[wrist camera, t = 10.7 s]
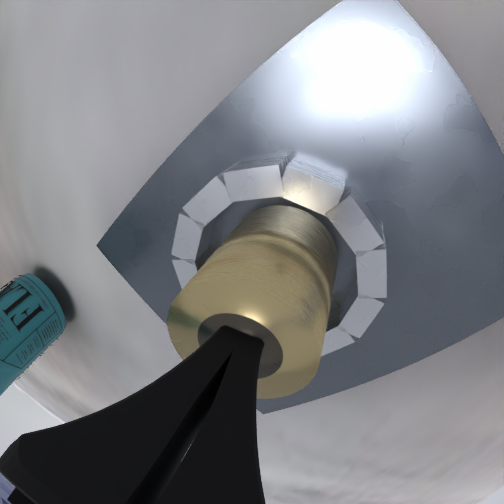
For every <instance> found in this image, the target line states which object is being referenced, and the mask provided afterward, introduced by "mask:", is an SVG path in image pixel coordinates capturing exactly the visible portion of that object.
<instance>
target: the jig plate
mask: <svg viewBox="0 0 504 504" xmlns="http://www.w3.org/2000/svg"><path fill="white" fill-rule="evenodd" d="M276 205H281V206H289V207H294V208H297V209H300V210H303V211H305V212H307V213H309V214H310V215H312V216H313V217H315V218H316V219H317V220H319V221H320V222H321V223H322V224H323V225H324V226H325V228H326V229H327V230H328V232H329V233H330V234H331V236H332V238H333V240H334V243H335V246H336V249H337V255H338V263H337V271H336V277H335V283H334V289H333V295H332V301H331V307H330V312H329V318H328V323H327V328H326V333H325V338H324V343H323V348H322V353H321V358H320V362H319V367H318V370H317V372H316V374H315V376H314V378H313V379H312V380H311V381H310V383H309V384H308V385H307V386H305V387H304V388H303V389H301V390H299V391H298V392H296V393H293V394H291V395H288V396H284V397H280V398H273V399H259V398H257V401H256V409H258V410H259V411H260V412H261V413H262V414H266V413H270V412H274V411H277V410H281V409H285V408H289V407H292V406H296V405H299V404H303V403H306V402H309V401H313V400H316V399H319V398H322V397H325V396H328V395H332V394H335V393H338V392H340V391H343V390H346V389H349V388H352V387H355V386H358V385H360V384H363V383H366V382H368V381H371V380H374V379H376V378H379V377H381V376H384V375H386V374H389V373H391V372H394V371H396V370H399V369H401V368H403V367H406V366H408V365H410V364H413V363H415V362H417V361H419V360H422V359H424V358H426V357H428V356H430V355H432V354H435V353H437V352H439V351H441V350H443V349H445V348H447V347H449V346H451V345H453V344H455V343H457V342H459V341H461V340H463V339H465V338H467V337H469V336H470V335H472V334H474V333H476V332H478V331H480V330H481V329H483V328H485V327H487V326H489V325H490V324H492V323H494V322H496V321H497V320H499V319H501V318H502V317H504V155H503V153H502V151H501V149H500V147H499V145H498V143H497V141H496V139H495V137H494V135H493V134H492V132H491V130H490V128H489V126H488V124H487V123H486V121H485V119H484V117H483V115H482V114H481V112H480V110H479V109H478V107H477V105H476V104H475V102H474V100H473V99H472V97H471V96H470V94H469V92H468V91H467V89H466V88H465V86H464V85H463V83H462V82H461V80H460V79H459V77H458V76H457V74H456V73H455V71H454V70H453V69H452V67H451V66H450V64H449V63H448V62H447V60H446V59H445V58H444V56H443V55H442V54H441V52H440V51H439V50H438V48H437V47H436V46H435V44H434V43H433V42H432V41H431V39H430V38H429V37H428V36H427V34H426V33H425V32H424V31H423V30H422V28H421V27H420V26H419V25H418V24H417V23H416V21H415V20H414V19H413V18H412V17H411V16H410V15H409V14H408V12H407V11H406V10H405V9H404V8H403V7H402V6H401V5H400V4H399V3H398V2H397V1H396V0H343V1H342V2H340V3H339V4H338V5H336V6H335V7H333V8H332V9H331V10H329V11H328V12H327V13H325V14H324V15H322V16H321V17H320V18H318V19H317V20H316V21H315V22H313V23H312V24H311V25H309V26H308V27H307V28H306V29H304V30H303V31H302V32H300V33H299V34H298V35H297V36H295V37H294V38H293V39H292V40H291V41H289V42H288V43H287V44H286V45H284V46H283V47H282V48H281V49H280V50H278V51H277V52H276V53H275V54H274V55H273V56H271V57H270V58H269V59H268V60H267V61H266V62H264V63H263V64H262V65H261V66H260V67H259V68H258V69H257V70H255V71H254V72H253V73H252V74H251V75H250V76H249V77H248V78H247V79H245V80H244V81H243V82H242V83H241V84H240V85H239V86H238V87H237V88H236V89H235V90H234V91H233V92H232V93H230V94H229V95H228V96H227V97H226V98H225V99H224V100H223V101H222V102H221V103H220V104H219V105H218V106H217V107H216V108H215V109H214V110H213V111H212V112H211V113H210V114H209V115H208V116H207V117H206V118H205V119H204V120H203V121H202V122H201V123H200V124H199V125H198V126H197V127H196V128H195V129H194V130H193V131H192V132H191V133H190V135H189V136H188V137H187V138H186V139H185V140H184V141H183V142H182V143H181V144H180V145H179V146H178V147H177V148H176V150H175V151H174V152H173V153H172V154H171V155H170V156H169V157H168V158H167V159H166V161H165V162H164V163H163V164H162V165H161V166H160V167H159V168H158V170H157V171H156V172H155V173H154V174H153V175H152V177H151V178H150V179H149V180H148V181H147V182H146V184H145V185H144V186H143V187H142V188H141V190H140V191H139V192H138V193H137V194H136V196H135V197H134V198H133V199H132V200H131V202H130V203H129V204H128V205H127V207H126V208H125V209H124V210H123V212H122V213H121V214H120V215H119V217H118V218H117V219H116V220H115V222H114V223H113V224H112V226H111V227H110V228H109V230H108V231H107V232H106V233H105V235H104V236H103V237H102V239H101V240H100V241H99V243H98V244H97V247H98V248H99V249H100V251H101V252H102V253H103V254H104V255H105V257H106V258H107V259H108V260H109V261H110V263H111V264H112V265H113V266H114V267H115V268H116V270H117V271H118V272H119V273H120V274H121V275H122V276H123V278H124V279H125V280H126V281H127V282H128V283H129V284H130V285H131V287H132V288H133V289H134V290H135V291H136V292H137V293H138V294H139V295H140V297H141V298H142V299H143V300H144V301H145V302H146V303H147V304H148V305H149V306H150V307H151V308H152V309H153V311H154V312H155V313H156V314H157V315H158V316H159V317H160V318H161V319H162V320H163V321H164V322H165V323H166V324H167V319H168V312H169V308H170V306H171V304H172V302H173V300H174V299H175V298H176V296H177V295H178V294H179V293H180V292H181V290H182V289H183V288H184V287H185V286H186V284H187V283H188V282H189V281H190V280H191V279H192V277H193V276H194V275H195V274H196V273H197V271H198V270H199V269H200V268H201V267H202V266H203V264H204V263H205V262H206V261H207V260H208V259H209V257H210V256H211V255H212V254H213V253H214V252H215V251H216V249H217V248H218V247H219V246H220V245H221V244H222V242H223V241H224V240H225V239H226V238H227V237H228V235H229V234H230V233H231V232H232V231H233V230H234V229H235V227H236V226H237V225H238V224H239V223H240V222H241V221H242V220H243V219H244V218H245V217H246V216H247V215H249V214H250V213H251V212H253V211H255V210H257V209H260V208H263V207H267V206H276ZM167 325H168V324H167Z"/></svg>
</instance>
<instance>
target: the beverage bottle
mask: <svg viewBox="0 0 504 504" xmlns="http://www.w3.org/2000/svg"><path fill="white" fill-rule="evenodd" d="M19 276H20V277H18V278H17V279H16V280H15V278H14V281H12V280H11V281H10V282H11V283H10V284H9V285H8V284H6V285H5V286H7V285H8V286H7V287H5V286H3V287H5V288H4V289H3V290H2V291H0V395H1V394H2V393H3V392H4V391H5V390H6V389H7V388H8V387H9V386H10V385H11V383H12V382H13V381H14V380H16V378H17V377H18V376H20V375H21V374H22V373H23V372H24V371H25V370H26V369H27V368H28V367H29V366H30V365H31V364H32V362H33V361H35V359H36V358H37V357H38V356H42V355H40V354H43V353H42V352H43V351H44V350H46V348H48V346H51V345H50V344H51V343H53V342H54V341H55V340H56V339H57V338H58V337H59V336H60V335H61V334H62V332H63V330H64V328H65V325H66V322H65V316H64V313H63V311H62V308H61V306H60V304H59V303H58V301H57V299H56V297H55V296H54V294H53V293H52V292H51V290H50V289H49V288H48V287H47V286H46V285H45V283H43V282H42V281H41V280H40V279H39V278H38V277H36V276H34V275H32V274H25V275H19ZM3 287H2V288H3ZM2 288H1V289H2ZM19 378H20V377H19Z"/></svg>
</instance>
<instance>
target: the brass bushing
mask: <svg viewBox="0 0 504 504" xmlns="http://www.w3.org/2000/svg"><path fill="white" fill-rule="evenodd" d="M337 263H338V255H337V249H336V246H335V243H334V240H333V238H332V236H331V234H330V233H329V232H328V230H327V229H326V228H325V226H324V225H323V224H322V223H321V222H320V221H319V220H317V219H316V218H315V217H313V216H312V215H310V214H309V213H307V212H305V211H303V210H300V209H297V208H294V207H289V206H281V205H276V206H267V207H263V208H260V209H257V210H255V211H253V212H251V213H250V214H249V215H247V216H246V217H245V218H244V219H243V220H242V221H241V222H240V223H239V224H238V225H237V226H236V227H235V229H234V230H233V231H232V232H231V233H230V234H229V235H228V237H227V238H226V239H225V240H224V241H223V242H222V244H221V245H220V246H219V247H218V248H217V249H216V251H215V252H214V253H213V254H212V255H211V256H210V257H209V259H208V260H207V261H206V262H205V263H204V264H203V266H202V267H201V268H200V269H199V270H198V271H197V273H196V274H195V275H194V276H193V277H192V279H191V280H190V281H189V282H188V283H187V284H186V286H185V287H184V288H183V289H182V290H181V292H180V293H179V294H178V295H177V296H176V298H175V299H174V300H173V302H172V304H171V306H170V308H169V312H168V319H167V324H168V331H169V335H170V338H171V341H172V343H173V345H174V347H175V349H176V351H177V352H178V354H179V355H180V356H181V358H182V359H183V360H185V359H186V358H187V357H188V356H190V355H191V354H192V353H193V352H195V351H196V350H197V349H198V348H199V347H200V346H201V345H203V344H204V343H205V342H206V341H207V340H208V339H209V338H210V337H211V336H212V335H213V334H214V333H215V332H216V331H217V330H218V329H219V328H220V327H221V326H224V325H226V326H228V327H231V328H233V329H236V330H238V331H241V332H243V333H246V334H248V335H251V336H254V337H256V338H259V339H262V340H263V342H264V343H265V344H264V347H263V351H262V354H261V359H260V365H259V373H258V382H257V398H259V399H273V398H280V397H284V396H288V395H291V394H293V393H296V392H298V391H299V390H301V389H303V388H304V387H305V386H307V385H308V384H309V383H310V381H311V380H312V379H313V378H314V376H315V374H316V372H317V370H318V367H319V362H320V358H321V353H322V348H323V343H324V338H325V333H326V328H327V323H328V318H329V312H330V307H331V301H332V295H333V289H334V283H335V277H336V271H337Z"/></svg>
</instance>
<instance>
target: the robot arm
mask: <svg viewBox="0 0 504 504" xmlns="http://www.w3.org/2000/svg"><path fill="white" fill-rule="evenodd" d="M264 344H265V343H264V342H263V340H262V339H259V338H256V337H254V336H251V335H248V334H246V333H243V332H241V331H238V330H236V329H233V328H231V327H228V326H226V325H224V326H221V327H220V328H219V329H218V330H217V331H216V332H215V333H214V334H213V335H212V336H211V337H210V338H209V339H208V340H207V341H206V342H205V343H204V344H203V345H201V346H200V347H199V348H198V349H197V350H196V351H195V352H193V353H192V354H191V355H190V356H188V357H187V358H186V359H185V360H183V361H182V362H181V363H179V364H178V365H177V366H176V367H174V368H173V369H171V370H170V371H169V372H167V373H166V374H164V375H163V376H161V377H160V378H158V379H157V380H155V381H154V382H152V383H151V384H149V385H148V386H146V387H144V388H143V389H141V390H139V391H138V392H136V393H134V394H132V395H130V396H129V397H127V398H125V399H123V400H121V401H119V402H117V403H115V404H113V405H111V406H108V407H106V408H104V409H102V410H100V411H97V412H95V413H92V414H90V415H87V416H84V417H82V418H79V419H76V420H73V421H70V422H68V423H65V424H62V425H58V426H55V427H51V428H47V429H43V430H38V431H34V432H30V433H26V434H22V435H21V436H20V437H19V438H18V439H17V440H16V441H14V442H13V443H12V444H11V445H10V446H9V447H8V449H7V450H6V451H5V452H4V454H3V455H2V456H1V458H0V504H265V498H264V493H263V487H262V482H261V475H260V467H259V458H258V447H257V428H256V401H257V382H258V373H259V365H260V359H261V354H262V351H263V347H264ZM193 440H194V441H193ZM192 442H193V443H192ZM190 445H191V446H190ZM189 447H190V448H189ZM188 449H189V450H188ZM187 450H188V451H187ZM186 452H187V453H186ZM185 454H186V455H185ZM183 457H184V458H183ZM182 459H183V460H182ZM181 461H182V462H181Z"/></svg>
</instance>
